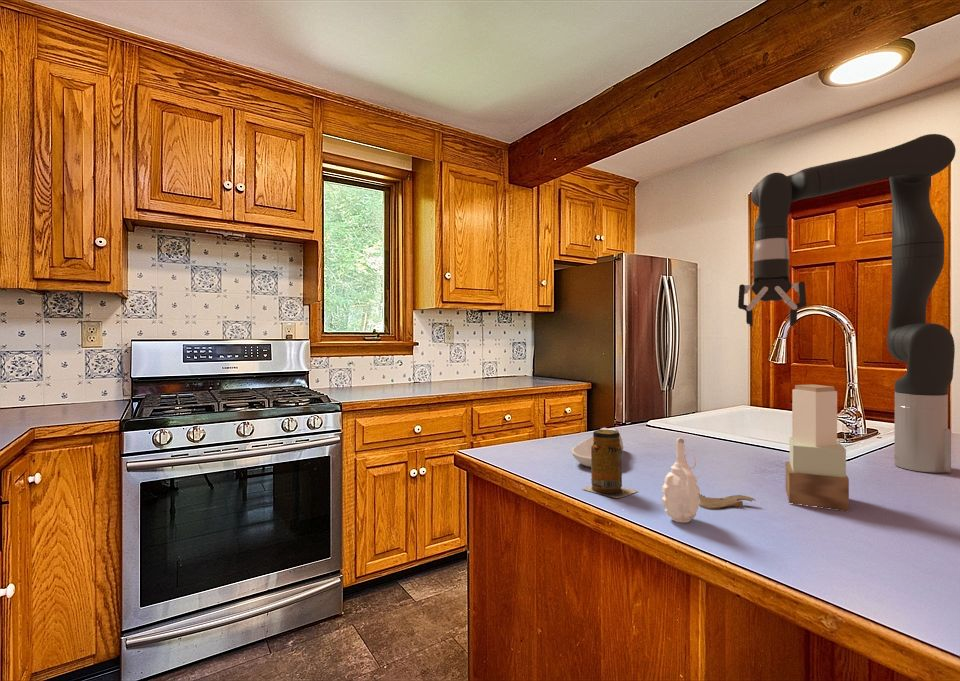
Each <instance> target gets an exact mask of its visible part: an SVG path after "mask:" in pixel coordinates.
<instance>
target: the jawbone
mask: <svg viewBox="0 0 960 681" xmlns="http://www.w3.org/2000/svg"><path fill="white" fill-rule="evenodd" d="M698 495H699V497H698V498H699V499H700V503H699V506H698V507H700V508H702V509H704V510H705V509H706V510H719V509H721V508H726V507H733V508H739V507H743V508H744V503H743V502H744V501H748V502H751V503H752V502H753V501H756V499H755V498H753V497H751V496H746V495H741V494H737V495H736V494H735V495H729V496H725V497H707V496H705V495H703V494H701V492H700V493H699V494H698Z"/></svg>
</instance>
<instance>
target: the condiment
mask: <svg viewBox="0 0 960 681" xmlns="http://www.w3.org/2000/svg"><path fill="white" fill-rule="evenodd" d="M619 433H620V432H617V431H614V430H600V429H596V430H594V431H593V434H592V435H593V441H594V442H593V444H592V446H591V467H590V470H591V473H590V474H591V475H590V476H591V479H590V480H591V485H590V486H586V487H582V490H585V491H588V492H591V493H595V494H599V495H603V496H605V497H609V498H614V499H620V498H623V497H627V496H630V495H632V494H635V493H637V492H638V490H635V489H631V488H629V487H628V488H627V487H624V486H623V477H622V476H623V471H622V470H623V468H622V467H623V466H622V465H623V464H622V460H623V459H622V457H623V456H622V451H623V450H622V449H621V445H620V439H619V436H621V434H619ZM621 450H622V451H621Z"/></svg>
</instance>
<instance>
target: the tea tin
mask: <svg viewBox="0 0 960 681" xmlns="http://www.w3.org/2000/svg"><path fill="white" fill-rule="evenodd" d="M791 392H792V394H791V395H792V405H791V406H792V407H791V408H792V409H791V410H792V415H791V416H792V417H791V418H792V419H791V420H792V423H791V425H792V426H791V427H792V428H791V429H792V432H791V433H792V434H791V435H792V436H791V438H792V441H794V442H798V443H802V444H806V445H811V446H815V447H819V446H830V445H837V441H838V391H837V390H835V386H830V385H824V384H821V385H820V384H795V385H794V389H792V390H791Z"/></svg>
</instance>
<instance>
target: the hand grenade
mask: <svg viewBox="0 0 960 681" xmlns="http://www.w3.org/2000/svg"><path fill="white" fill-rule="evenodd" d="M685 451H686V449H685V439H684V438H680V437H678V438H677V439H676V457H675V458H676V461H675V462H674V463H673V465H672V466H670V469H671V470H670V471H669V472H668V473H667V474H666V476H665V477H664V481H663V482H664V483H663V485H662V487H661V493H662V494H663V497H661V502H662V503H661V504H662V506H663V507H665V509H664V512H665V515H667V516H668V517H670V518H671V520H672V521H674V522H677V523H681V524H682V523H684V524H685V523H690V522H691V521H692V519H695V517H696V516H697V512H698V509H699V507H700V506H699V503H700V499H699V498H698V497H699V495H698V494H699V493H700V494H701V491H700V486H698V485H697V483H698V480H697V477H696V476H695V474H694V472H693V471H692V470H694V469H695V467H696V465H697V458H696V456H695V455H694V453H692V451H687V452H686V453H685ZM688 454H691V455H692V456H693V459H694V462H693V466H692V467H690V466H689V464H688V460H687V455H688Z"/></svg>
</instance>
